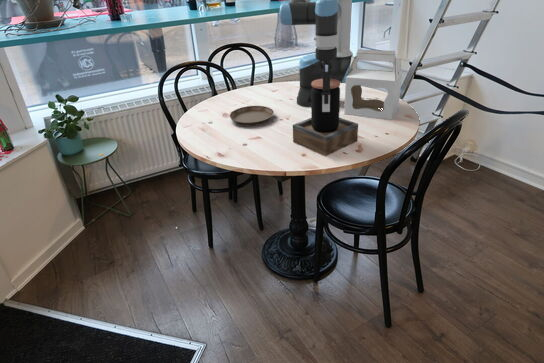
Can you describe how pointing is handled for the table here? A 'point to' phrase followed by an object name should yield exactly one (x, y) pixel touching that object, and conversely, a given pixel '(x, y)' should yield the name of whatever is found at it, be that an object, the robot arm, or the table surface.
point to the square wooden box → (325, 136)
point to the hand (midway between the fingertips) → (325, 105)
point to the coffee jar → (318, 118)
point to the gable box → (373, 85)
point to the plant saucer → (252, 115)
